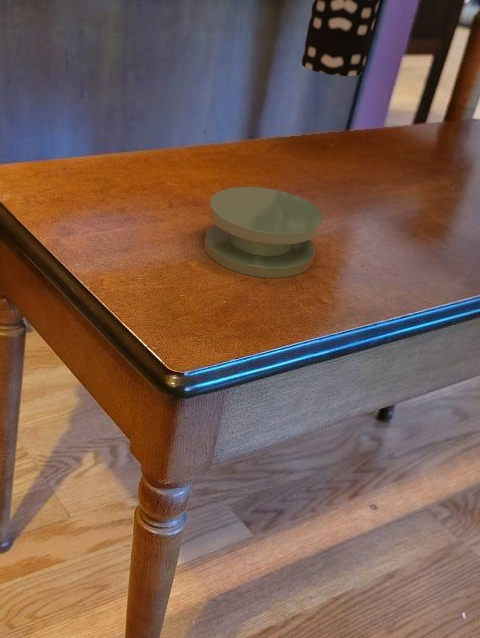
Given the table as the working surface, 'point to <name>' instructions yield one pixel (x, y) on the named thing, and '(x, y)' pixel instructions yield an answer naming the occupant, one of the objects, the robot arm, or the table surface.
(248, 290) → the table surface
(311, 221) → the stand
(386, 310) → the table surface
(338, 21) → the spotted tube
